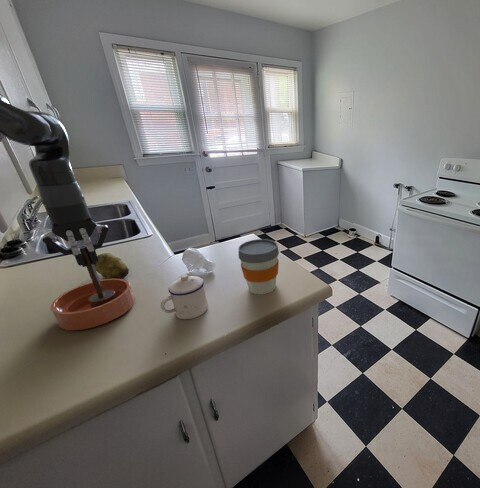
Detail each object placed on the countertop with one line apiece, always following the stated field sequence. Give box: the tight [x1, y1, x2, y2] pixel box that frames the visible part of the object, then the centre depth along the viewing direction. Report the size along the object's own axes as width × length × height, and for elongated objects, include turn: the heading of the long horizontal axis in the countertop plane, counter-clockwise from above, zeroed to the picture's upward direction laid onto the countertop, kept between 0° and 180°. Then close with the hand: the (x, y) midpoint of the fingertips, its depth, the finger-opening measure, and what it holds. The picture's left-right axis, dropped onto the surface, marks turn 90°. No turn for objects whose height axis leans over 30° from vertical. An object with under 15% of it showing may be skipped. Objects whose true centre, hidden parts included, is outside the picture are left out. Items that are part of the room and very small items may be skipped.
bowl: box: [49, 278, 136, 331], centre depth 78 cm, size 18×18×6 cm
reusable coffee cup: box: [238, 238, 280, 295], centre depth 88 cm, size 12×12×15 cm
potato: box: [94, 252, 130, 279], centre depth 96 cm, size 8×13×8 cm, turn 48°
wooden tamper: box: [79, 246, 117, 308], centre depth 74 cm, size 6×6×18 cm
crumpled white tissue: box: [181, 247, 216, 273], centre depth 100 cm, size 6×8×12 cm
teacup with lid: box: [160, 274, 209, 320], centre depth 76 cm, size 12×9×12 cm
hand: (89, 264), depth 73 cm, fingers closed on wooden tamper, 1 cm apart
